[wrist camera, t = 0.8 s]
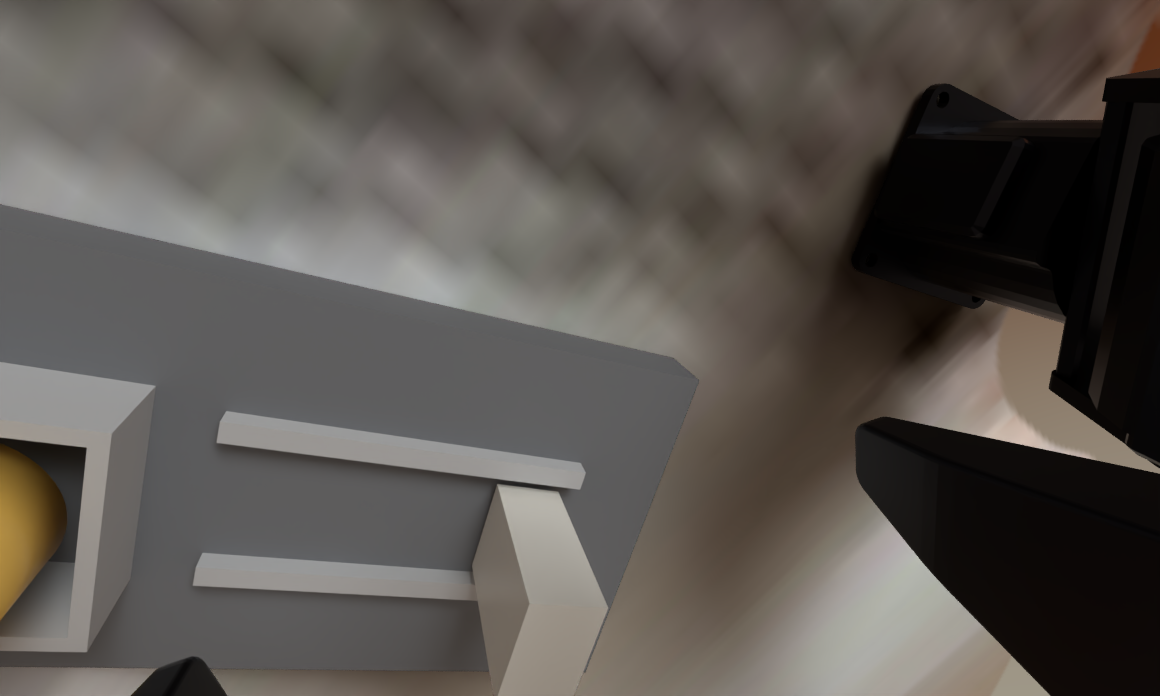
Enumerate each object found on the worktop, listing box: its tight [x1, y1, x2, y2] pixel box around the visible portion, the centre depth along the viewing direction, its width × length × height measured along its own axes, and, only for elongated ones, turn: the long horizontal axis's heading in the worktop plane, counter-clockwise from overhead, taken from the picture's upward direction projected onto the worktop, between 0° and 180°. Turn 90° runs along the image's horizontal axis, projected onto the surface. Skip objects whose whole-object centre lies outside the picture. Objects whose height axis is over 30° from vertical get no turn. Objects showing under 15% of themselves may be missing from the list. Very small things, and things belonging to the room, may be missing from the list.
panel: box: [0, 204, 699, 673], centre depth 16 cm, size 27×12×4 cm, turn 72°
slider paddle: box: [472, 484, 608, 696], centre depth 17 cm, size 2×3×5 cm, turn 162°
